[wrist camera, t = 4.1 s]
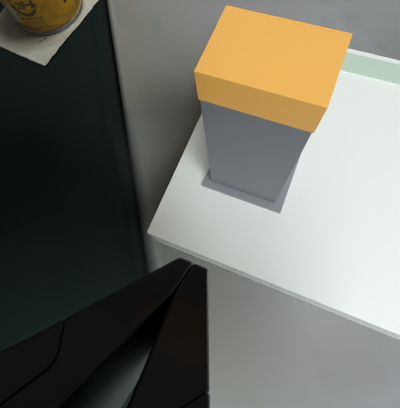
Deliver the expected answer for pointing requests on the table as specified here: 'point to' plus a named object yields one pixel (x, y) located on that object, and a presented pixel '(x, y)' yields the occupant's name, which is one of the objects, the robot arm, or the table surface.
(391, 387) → the table surface
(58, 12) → the condiment
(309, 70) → the orange-capped grey pillar
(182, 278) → the robot arm
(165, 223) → the box
